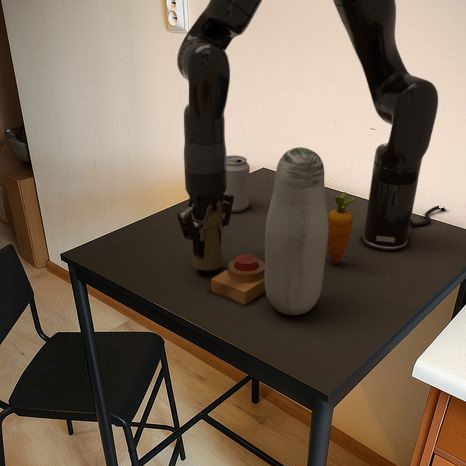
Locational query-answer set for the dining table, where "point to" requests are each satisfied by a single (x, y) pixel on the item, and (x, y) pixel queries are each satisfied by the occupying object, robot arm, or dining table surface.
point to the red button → (246, 262)
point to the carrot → (339, 228)
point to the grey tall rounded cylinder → (296, 233)
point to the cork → (210, 245)
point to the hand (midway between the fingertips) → (207, 252)
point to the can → (238, 181)
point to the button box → (240, 282)
